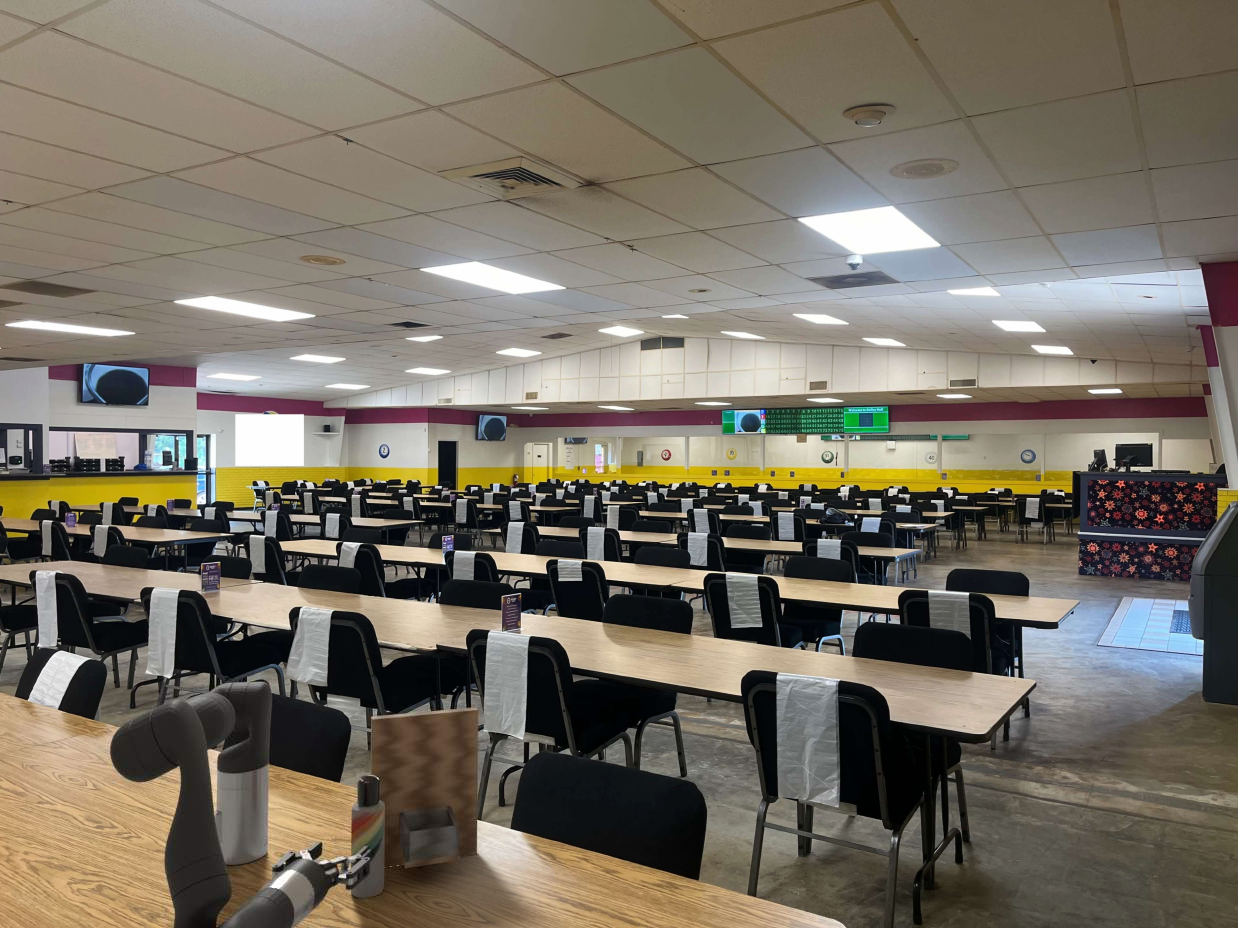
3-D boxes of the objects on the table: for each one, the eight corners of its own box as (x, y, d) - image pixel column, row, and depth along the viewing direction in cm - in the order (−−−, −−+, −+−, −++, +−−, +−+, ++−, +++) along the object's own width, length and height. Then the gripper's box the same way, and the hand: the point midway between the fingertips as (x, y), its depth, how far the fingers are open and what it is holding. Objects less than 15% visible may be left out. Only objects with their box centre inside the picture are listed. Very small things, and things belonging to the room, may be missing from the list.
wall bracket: (374, 895, 147) (375, 734, 148) (369, 865, 159) (371, 716, 159) (487, 877, 154) (488, 724, 155) (475, 849, 166) (476, 707, 166)
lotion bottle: (354, 883, 152) (355, 771, 152) (386, 882, 152) (388, 771, 152) (347, 899, 146) (348, 783, 146) (380, 897, 146) (381, 782, 147)
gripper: (334, 875, 124) (383, 829, 140) (246, 867, 126) (305, 823, 142) (334, 926, 123) (383, 875, 139) (246, 917, 126) (304, 868, 142)
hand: (343, 849), depth 141 cm, fingers open, 8 cm apart
